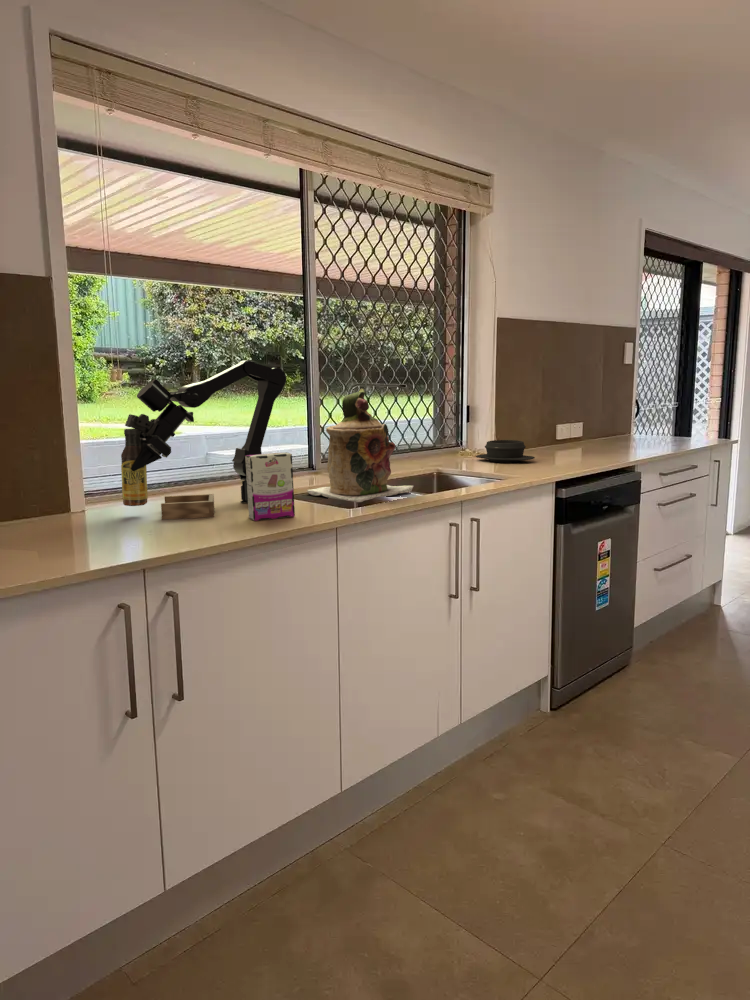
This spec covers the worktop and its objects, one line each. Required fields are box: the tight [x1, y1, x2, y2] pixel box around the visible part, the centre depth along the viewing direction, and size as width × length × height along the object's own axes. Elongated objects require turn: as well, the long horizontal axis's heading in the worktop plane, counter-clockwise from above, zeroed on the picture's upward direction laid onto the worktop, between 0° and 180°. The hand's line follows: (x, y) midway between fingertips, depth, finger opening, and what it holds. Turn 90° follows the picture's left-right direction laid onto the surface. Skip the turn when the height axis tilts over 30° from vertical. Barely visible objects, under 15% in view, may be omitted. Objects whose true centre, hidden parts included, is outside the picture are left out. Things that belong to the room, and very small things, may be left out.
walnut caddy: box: [160, 493, 215, 520], centre depth 187 cm, size 13×13×4 cm
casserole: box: [475, 439, 536, 464], centre depth 293 cm, size 25×19×8 cm
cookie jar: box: [306, 388, 414, 503], centre depth 214 cm, size 25×25×32 cm
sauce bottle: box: [120, 428, 148, 507], centre depth 183 cm, size 6×6×20 cm
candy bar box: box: [245, 451, 296, 522], centre depth 179 cm, size 11×5×16 cm, turn 118°
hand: (128, 468), depth 182 cm, fingers closed on sauce bottle, 6 cm apart
